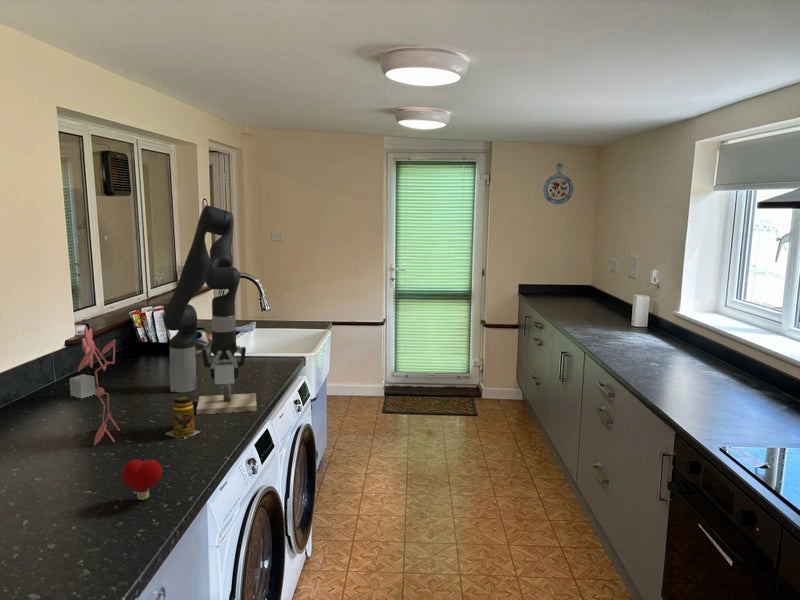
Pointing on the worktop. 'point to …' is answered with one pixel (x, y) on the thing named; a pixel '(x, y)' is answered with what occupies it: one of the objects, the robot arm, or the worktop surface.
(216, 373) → the steel collar
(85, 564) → the worktop surface
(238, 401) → the hub base
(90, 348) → the figurine
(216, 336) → the robot arm
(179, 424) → the condiment
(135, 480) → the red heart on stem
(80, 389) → the product box
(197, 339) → the lucky cat figurine
